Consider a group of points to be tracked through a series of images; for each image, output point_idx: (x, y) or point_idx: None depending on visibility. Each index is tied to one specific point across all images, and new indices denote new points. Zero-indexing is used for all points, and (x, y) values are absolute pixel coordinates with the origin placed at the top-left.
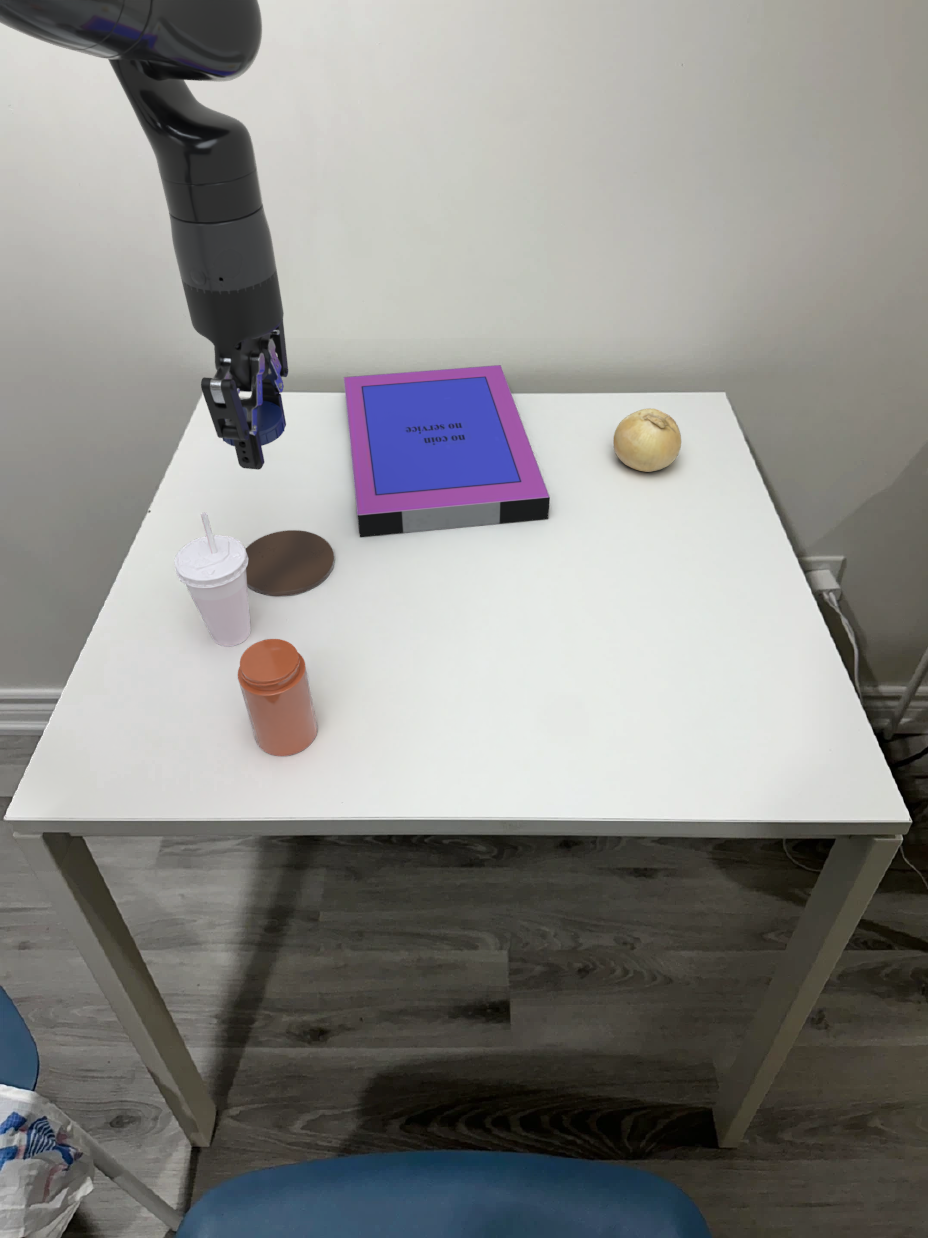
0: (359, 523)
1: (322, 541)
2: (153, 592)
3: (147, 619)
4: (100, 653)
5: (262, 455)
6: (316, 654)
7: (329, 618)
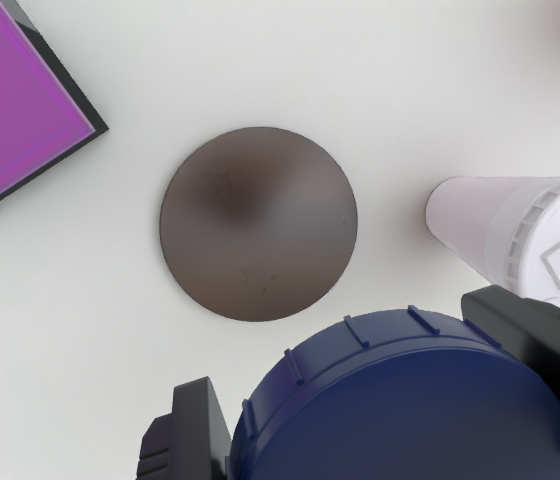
0: (99, 127)
1: (175, 192)
2: None
3: None
4: None
5: (496, 306)
6: (458, 32)
7: (366, 58)
